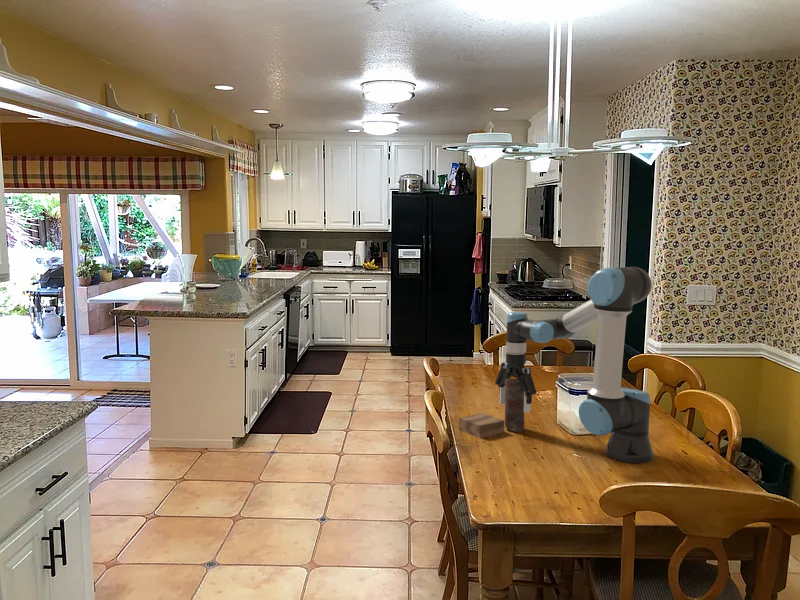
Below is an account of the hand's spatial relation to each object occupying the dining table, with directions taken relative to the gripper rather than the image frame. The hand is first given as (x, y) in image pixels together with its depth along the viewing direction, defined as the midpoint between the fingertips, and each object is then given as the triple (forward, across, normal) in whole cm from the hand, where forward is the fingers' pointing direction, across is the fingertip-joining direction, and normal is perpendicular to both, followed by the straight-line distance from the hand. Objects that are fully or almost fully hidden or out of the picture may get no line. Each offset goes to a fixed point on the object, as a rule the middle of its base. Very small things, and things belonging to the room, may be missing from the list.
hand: (514, 407), depth 248 cm
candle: (+9, 0, 0) cm, 9 cm away
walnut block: (+9, +5, +12) cm, 16 cm away
